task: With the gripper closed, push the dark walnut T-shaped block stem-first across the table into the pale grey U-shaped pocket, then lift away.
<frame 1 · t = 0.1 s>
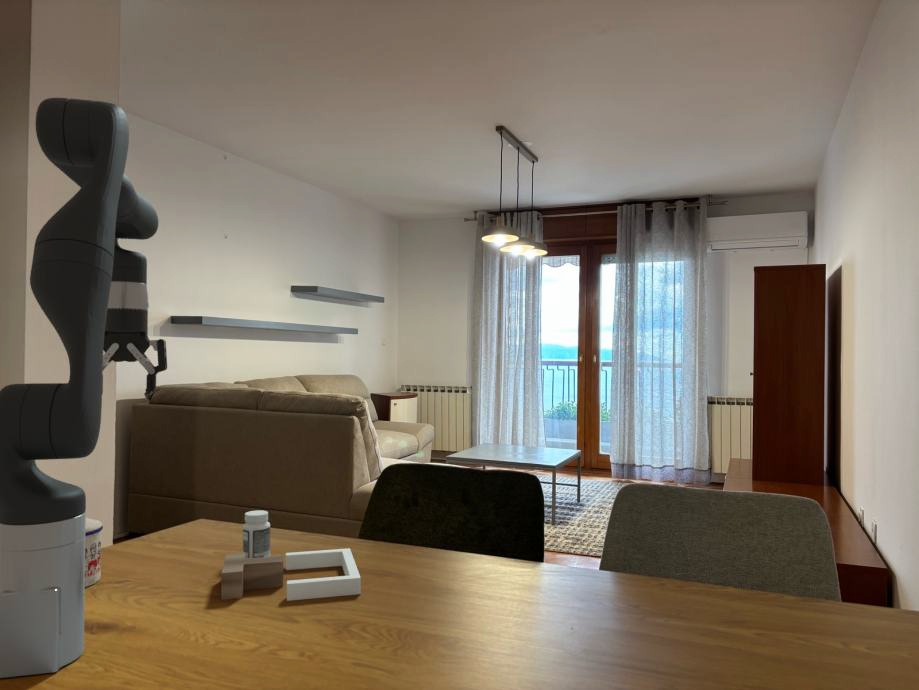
hand: (124, 394, 124), 29 cm above the table, fingers open, 8 cm apart
pill bottle: (256, 560, 119), on the table
pocket: (317, 580, 109), on the table
t block: (233, 587, 105), on the table
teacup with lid: (76, 581, 108), on the table
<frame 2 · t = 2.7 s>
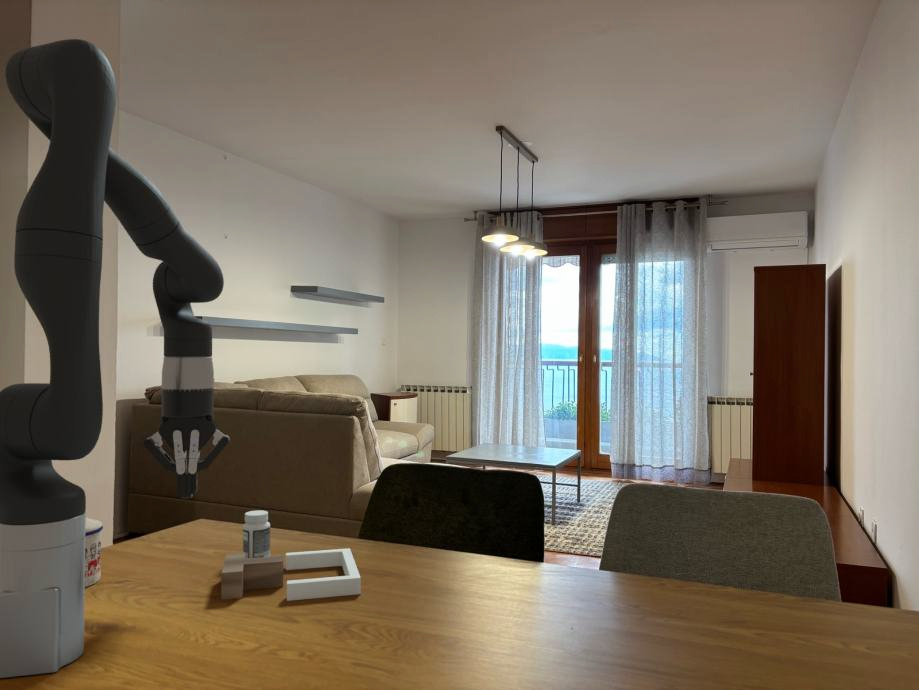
hand: (187, 496, 104), 15 cm above the table, fingers closed
nothing on the table moved.
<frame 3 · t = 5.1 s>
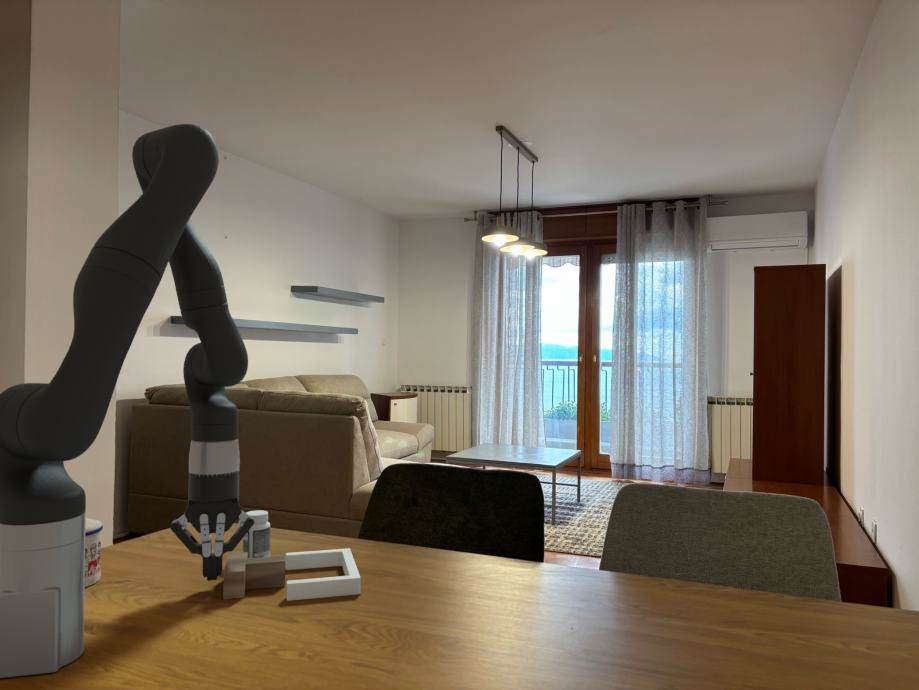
hand: (212, 578, 104), 2 cm above the table, fingers closed
t block: (235, 587, 105), on the table, touching gripper
everything else where it was.
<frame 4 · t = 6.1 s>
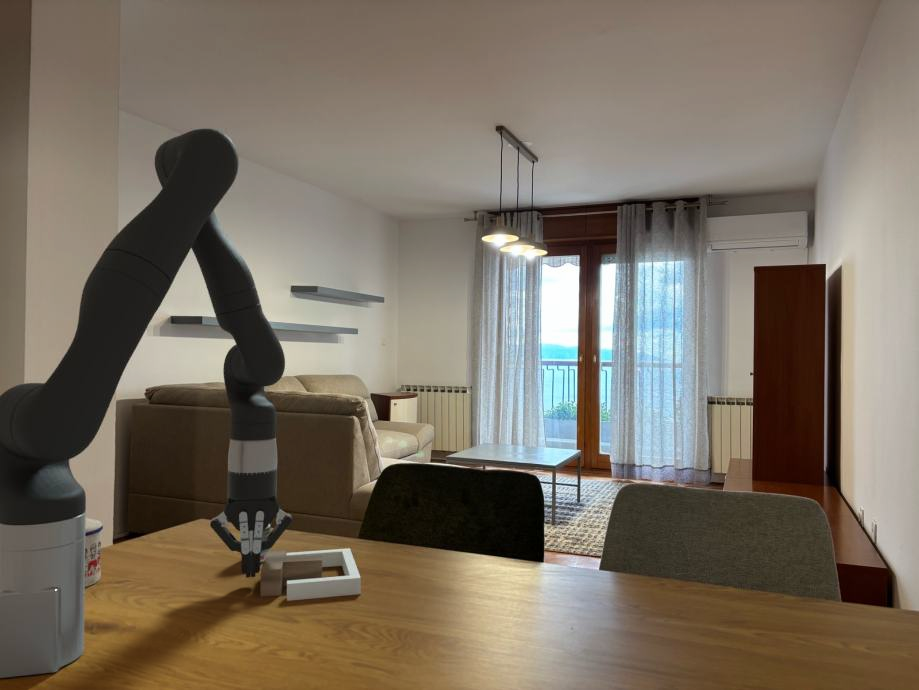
hand: (250, 575, 106), 2 cm above the table, fingers closed
t block: (273, 584, 106), on the table, touching gripper
everything else where it was.
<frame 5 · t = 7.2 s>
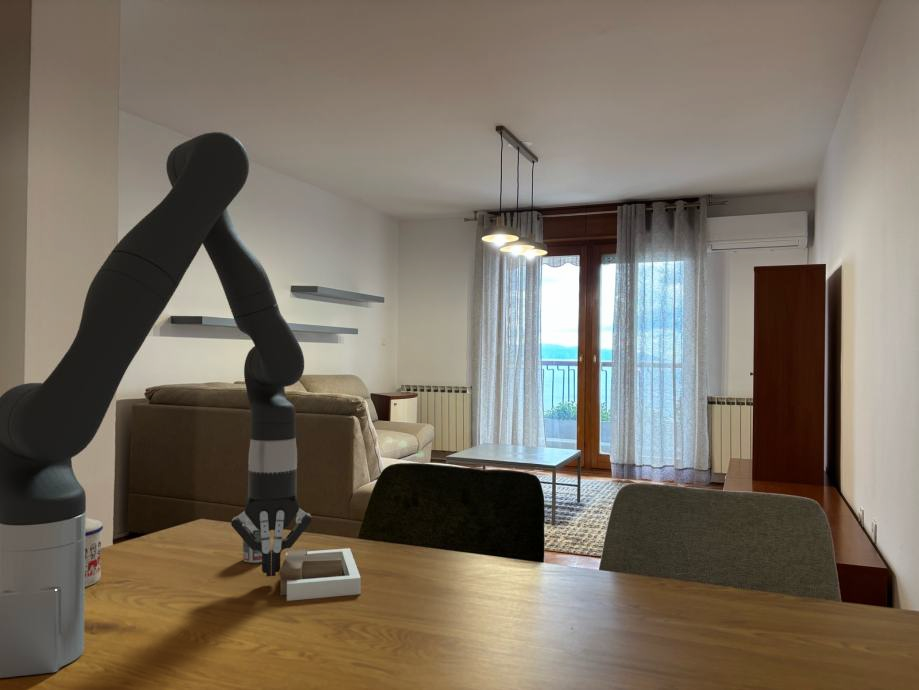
hand: (271, 574, 107), 2 cm above the table, fingers closed
t block: (294, 583, 107), on the table, touching gripper
everything else where it was.
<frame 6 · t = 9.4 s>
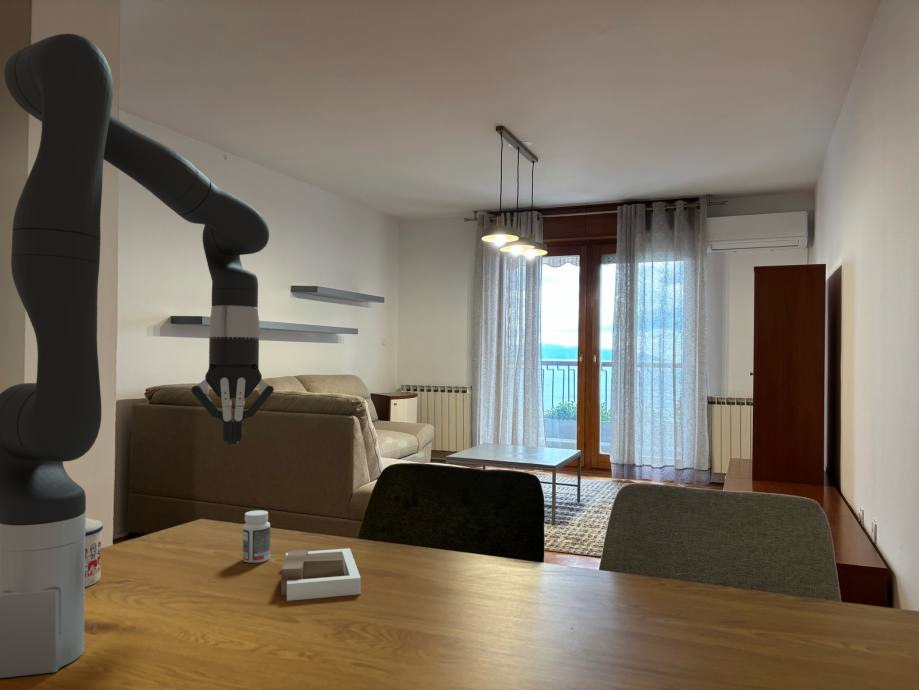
hand: (232, 444, 106), 23 cm above the table, fingers closed
t block: (295, 583, 107), on the table
everything else where it was.
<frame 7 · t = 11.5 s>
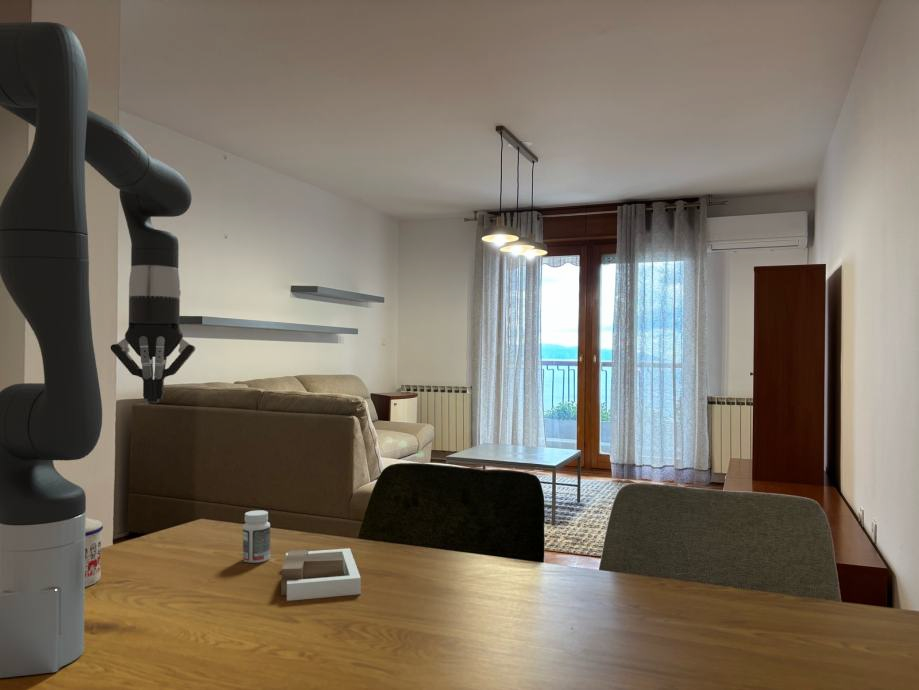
hand: (153, 402, 108), 29 cm above the table, fingers closed
nothing on the table moved.
at the end: t block 1.0 cm from the target spot on the pocket, point 0.0 cm above the pocket's base; t block moved 9.4 cm from its start; t block tilted 0° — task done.
